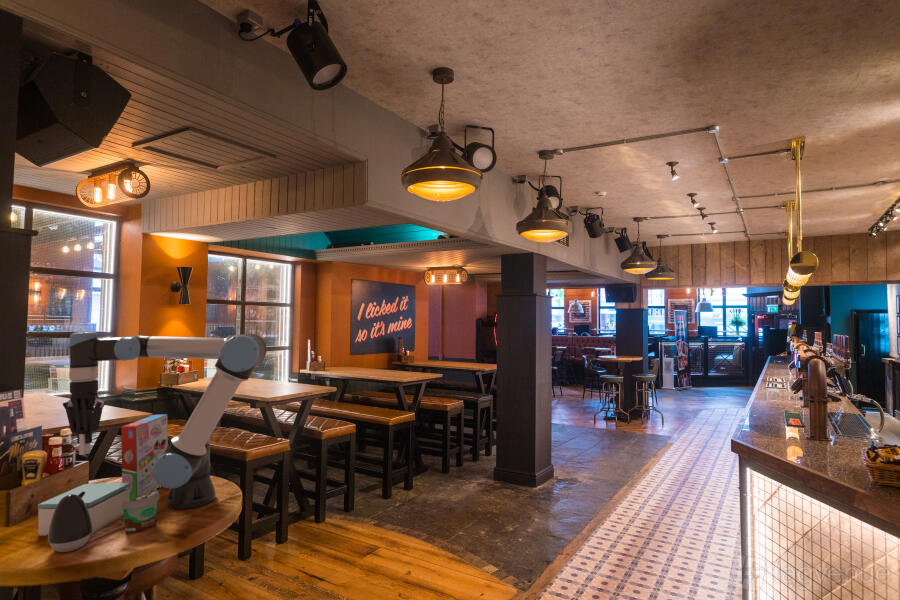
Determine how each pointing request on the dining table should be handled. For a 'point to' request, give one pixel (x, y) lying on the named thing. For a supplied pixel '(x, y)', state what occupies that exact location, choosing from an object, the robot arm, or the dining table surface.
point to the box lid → (88, 493)
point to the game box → (143, 452)
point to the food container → (141, 512)
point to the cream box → (91, 512)
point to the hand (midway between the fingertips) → (84, 453)
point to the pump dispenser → (70, 524)
